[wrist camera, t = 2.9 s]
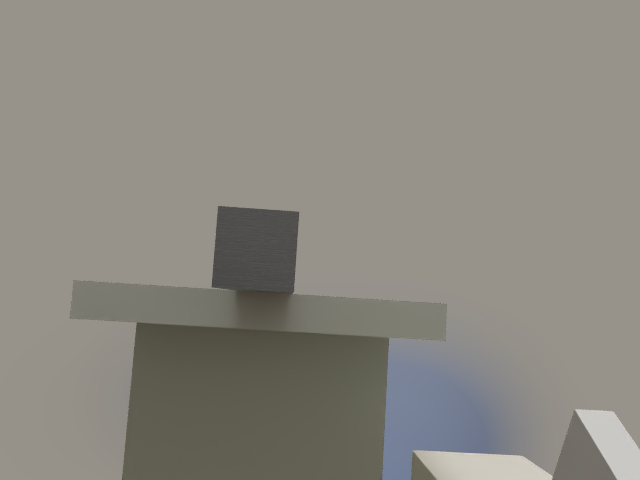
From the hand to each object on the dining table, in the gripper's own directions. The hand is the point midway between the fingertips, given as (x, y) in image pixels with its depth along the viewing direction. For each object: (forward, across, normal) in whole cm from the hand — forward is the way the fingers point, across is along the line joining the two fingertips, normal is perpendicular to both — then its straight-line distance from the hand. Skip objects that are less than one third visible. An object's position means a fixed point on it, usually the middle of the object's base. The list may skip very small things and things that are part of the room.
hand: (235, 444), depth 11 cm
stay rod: (+21, -1, -9) cm, 23 cm away
